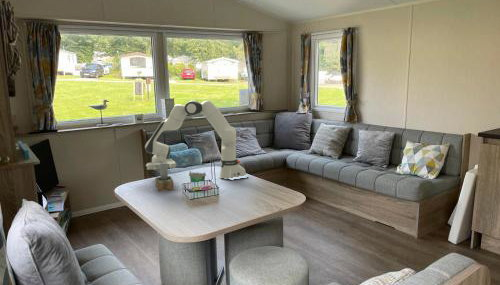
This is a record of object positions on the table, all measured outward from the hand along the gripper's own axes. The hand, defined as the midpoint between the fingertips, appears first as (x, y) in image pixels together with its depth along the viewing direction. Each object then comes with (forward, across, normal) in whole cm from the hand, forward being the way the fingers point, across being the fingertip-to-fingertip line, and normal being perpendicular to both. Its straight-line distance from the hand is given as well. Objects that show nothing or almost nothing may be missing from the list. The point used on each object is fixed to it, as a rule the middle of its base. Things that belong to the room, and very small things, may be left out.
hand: (162, 168), depth 256 cm
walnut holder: (+4, 0, +13) cm, 14 cm away
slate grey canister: (+4, 0, +8) cm, 9 cm away
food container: (+9, +21, +13) cm, 27 cm away
